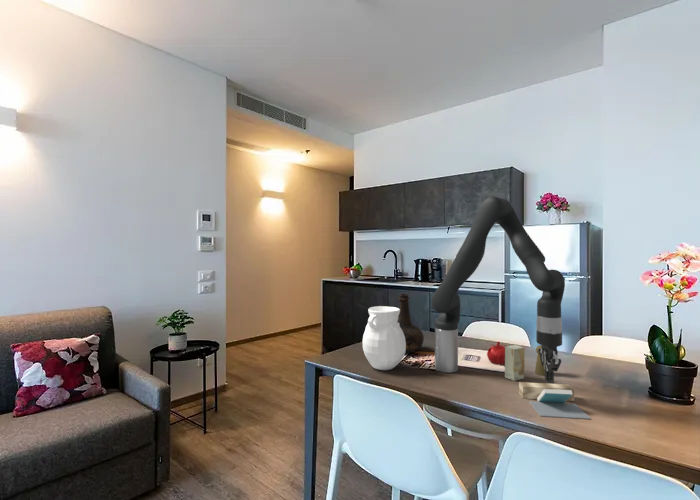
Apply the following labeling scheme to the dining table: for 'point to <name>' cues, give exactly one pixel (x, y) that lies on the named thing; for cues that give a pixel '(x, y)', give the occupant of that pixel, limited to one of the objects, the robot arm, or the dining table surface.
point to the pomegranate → (497, 354)
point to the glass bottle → (409, 326)
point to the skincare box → (514, 362)
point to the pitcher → (384, 338)
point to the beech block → (541, 389)
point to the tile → (554, 396)
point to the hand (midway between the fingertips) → (549, 381)
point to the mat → (559, 410)
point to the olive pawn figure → (539, 364)
